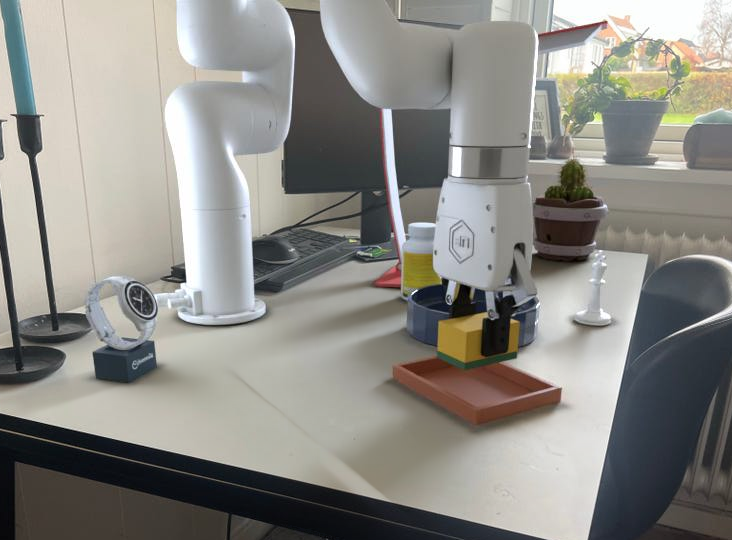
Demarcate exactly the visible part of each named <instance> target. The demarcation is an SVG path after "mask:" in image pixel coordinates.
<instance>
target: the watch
mask: <svg viewBox="0 0 732 540" xmlns="http://www.w3.org/2000/svg"><path fill="white" fill-rule="evenodd" d="M106 284H111V289H112V290H113V291H114V293H115V295H116V300H117V306H118V308H119V310H120V311H121V313H122V314H123V316H124V317H125V318H126V319H127V320H129V321H130V322H132V324H133V325H134V327H135V328H136V331H138V332H140V334H139V336H138V338H132V337H124V336H123V337H118V335H117V334H116V329H115V328H114V327H113V325H112V324H111V322H110V321H109V319H108V317H107V315H106V313H105V311H104V307H101V302H100V301H99V299H100V293H101V290H102V289H103V287H104V286H105V285H106ZM84 299H85V300H84V308H85V311H84V313H85V316H86V318H87V321H88V323H89V325H90V327H91V329H92V331H93V332H94V334H95V336H96V337H97V338H98V339H99V341H100V342H103V343H104V344H106V345H104V346H102V347H100V348H98V349H95V350H94V351H92V352H91V353H92V360H93V367H94V375H95V379H99V380H105V381H106V380H107V381H111V382H112V381H113V382H120V383H126V384H129V383H131V382H133V381H135V380H137V379H138V378H139V377H142V376H143V375H145V374H146V373H148V372H150V371H152V370H153V369H155V368H156V367H157V366H158V365H157V353H156V345H155V344H156V343H155V340H150V338H151V336H152V335H153V334H154V331H155V329H156V326H157V323H158V314H159V308H158V304H157V301H156V299H155V297H154V293H153V292H152V290H151V288H149V287H148V286H147V285H146V284H145V283H143V282H141V281H139V280H135V279H134V278H132V277H128V276H125V275H114V276H113V275H112V276H110V277H107V278H104V279H101V280H98V281H96V282H94V283H93V284H92V285H90V287H89V288H88V290H87V293H86V294H85V298H84Z"/></svg>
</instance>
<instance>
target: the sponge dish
mask: <svg viewBox="0 0 732 540" xmlns="http://www.w3.org/2000/svg"><path fill="white" fill-rule="evenodd" d="M391 374H392V379H393V380H395V381H396V382H398V383H400V384H402V385H403V386H405V387H407V388H409V389H411V390H412V391H414V392H416V393H418V394H419V395H421V396H423V397H425V398H427V399H428V400H430V401H432V402H434V403H435V404H437V405H439V406H441V407H442V408H444V409H446V410H448V411H450V412H451V413H453V414H455V415H457V417H458V416H459V417H460V418H462V419H464V420H465V421H467V422H469V423H471V424H472V425H474V426H479V425H483V424H486V423H490V422H493V421H497V420H501V419H504V418H507V417H510V416H511V417H512V416H514V415H518V414H522V413H524V412H529V411H532V410H535V409H536V410H537V409H539V408H543V407H546V406H550V405H554V404H557V403H561V400H562V391H563V387H562V386H559V385H557V384H555V383H553V382H550V381H548V380H546V379H544V378H541V377H539V376H536V375H534V374H532V373H530V372H527V371H525V370H522V369H521V368H518V367H516V366H513V365H511V364H510V363H506V362H505V361H503V362H499V363H494V364H490V365H486V366H481V367H477V368H473V369H469V370H463V369H460V368H458V367H456V366H454V365H452V364H450V363H448V362H446V361H443V360H441V359H439V358H437V355H433V356H429V357H425V358H424V357H423V358H419V359H414V360H410V361H406V362H401V363H400V362H399V363H395V364H392V373H391Z"/></svg>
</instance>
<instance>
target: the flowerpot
mask: <svg viewBox="0 0 732 540" xmlns="http://www.w3.org/2000/svg"><path fill="white" fill-rule="evenodd" d="M578 156H580V154H578V155H577V156H575V153H573V156H572V157H570V156H568V157H566V158H565V159H566V160H565V161H563V162H562V164H563V165H559V168H558V169H557V170H558V171H557V172H556V173H557V175H558V177H557V180H556V181H554V185H549V186H548V187H546V191H545V192H544V194H539V195H538V196H537V197H536V198H535V200H534V201H532V214H533V217H534V218H533V224H534V229H535V235H536V237H535V238H534V239H533V245H532V246H533V248H534V250H535V251H537V255H538V256H539V257H541V258H543V259H547V260H552V261H561V260H562V261H565V262H569V261H572V260H574V259H576V261H584V260H587V259H589V257H590V256H591V254H593V253H594V252H595V251H596V250H597V242H596V241H595V239H596V236H597V233H598V230H599V227H600V224H601V220H604V219H606V218H607V217H608V214H610V210H609V209H608V206H607V204H605V203H604V199H603V197H601V196H596V195H594V192H593V191H594V189H592V188H593V186H592V185H591V186H589V185H588V184H587V182H589V180H588V178H587V176H588V174H589V173H588V172H589V170H588V168H584V167H586V164H585V162H581V161H580V160H581V158H580V157H579V158H578V159H577V157H578ZM560 168H561V169H560ZM559 174H560V175H559Z"/></svg>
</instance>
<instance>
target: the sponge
mask: <svg viewBox="0 0 732 540" xmlns="http://www.w3.org/2000/svg"><path fill="white" fill-rule="evenodd" d="M487 317H488V314H487V312H486V313H480V314H475V315H469V316H464V317H459V318H453V319H448V320H442V321H439V325H438V346H437V353H436V356H437V358H439V359H441V360H443V361H446V362H448V363H450V364H452V365H454V366H456V367H458V368H460V369H463V370H469V369H473V368H477V367H481V366H486V365H490V364H494V363H499V362H507V361H511V360H515V359H517V358H518V348H519V347H518V337H519V325H520V322H519V321H516V320H513V319H511V322H510V335H509V348H508V351H507V353H504V354H500V355H495V356H491V357H484V356H482V355H481V343H482V321H483V318H487Z"/></svg>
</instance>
